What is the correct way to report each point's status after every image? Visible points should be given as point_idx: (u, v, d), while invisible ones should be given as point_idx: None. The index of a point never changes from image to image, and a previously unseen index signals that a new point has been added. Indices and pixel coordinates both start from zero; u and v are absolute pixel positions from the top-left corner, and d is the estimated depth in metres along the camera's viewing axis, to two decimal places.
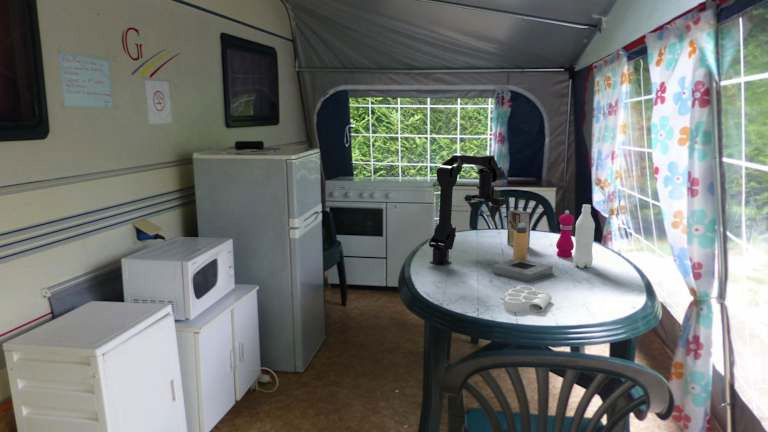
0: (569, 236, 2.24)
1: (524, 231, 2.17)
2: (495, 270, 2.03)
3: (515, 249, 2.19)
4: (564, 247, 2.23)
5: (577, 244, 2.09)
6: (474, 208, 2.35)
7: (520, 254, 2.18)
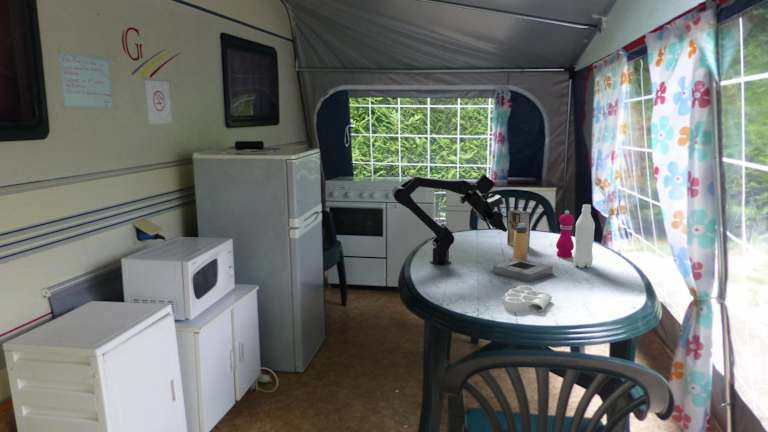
0: (569, 236, 2.24)
1: (524, 231, 2.17)
2: (495, 270, 2.03)
3: (515, 249, 2.19)
4: (564, 247, 2.23)
5: (577, 244, 2.09)
6: None
7: (520, 254, 2.18)
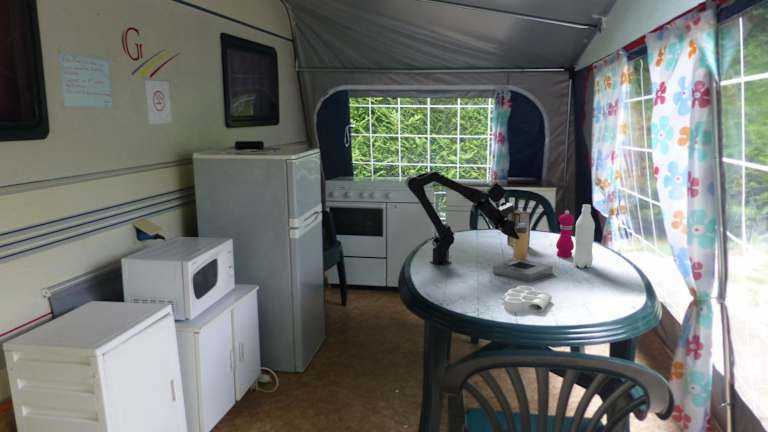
0: (569, 236, 2.24)
1: (524, 231, 2.17)
2: (495, 270, 2.03)
3: (515, 249, 2.19)
4: (564, 247, 2.23)
5: (577, 244, 2.09)
6: None
7: (520, 254, 2.18)
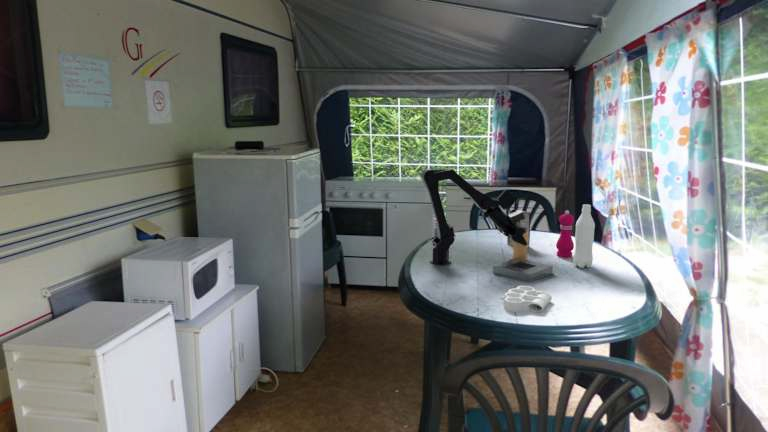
0: (569, 236, 2.24)
1: None
2: (495, 270, 2.03)
3: (515, 249, 2.19)
4: (564, 247, 2.23)
5: (577, 244, 2.09)
6: None
7: (520, 254, 2.18)
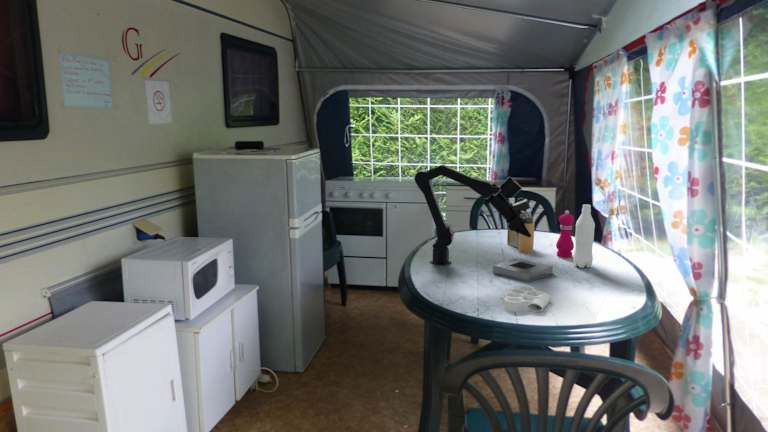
0: (569, 236, 2.24)
1: (529, 222, 2.05)
2: (495, 270, 2.03)
3: (519, 240, 2.08)
4: (564, 247, 2.23)
5: (577, 244, 2.09)
6: None
7: (524, 245, 2.06)
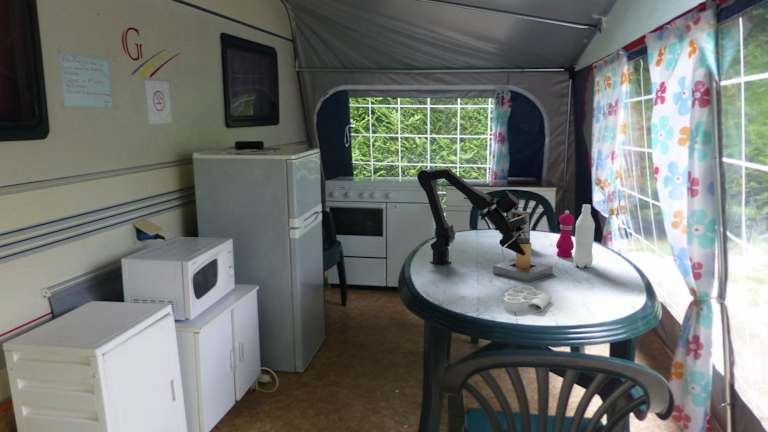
0: (569, 236, 2.24)
1: (524, 242, 1.99)
2: (495, 270, 2.03)
3: None
4: (564, 247, 2.23)
5: (577, 244, 2.09)
6: None
7: (519, 266, 2.01)
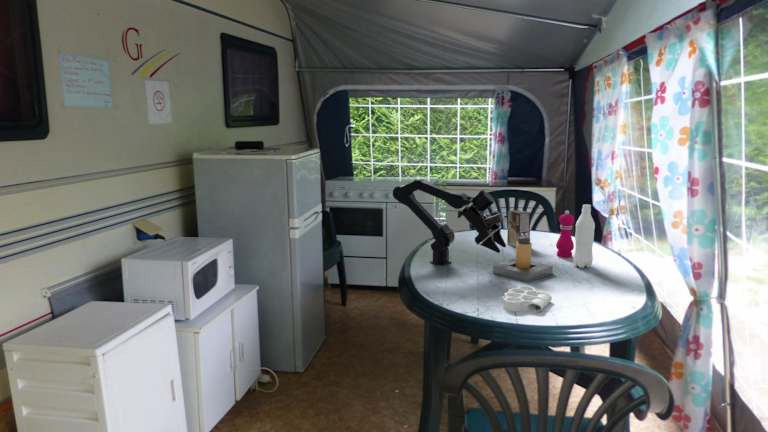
0: (569, 236, 2.24)
1: (524, 242, 1.99)
2: (495, 270, 2.03)
3: None
4: (564, 247, 2.23)
5: (577, 244, 2.09)
6: (496, 240, 2.10)
7: (519, 266, 2.01)
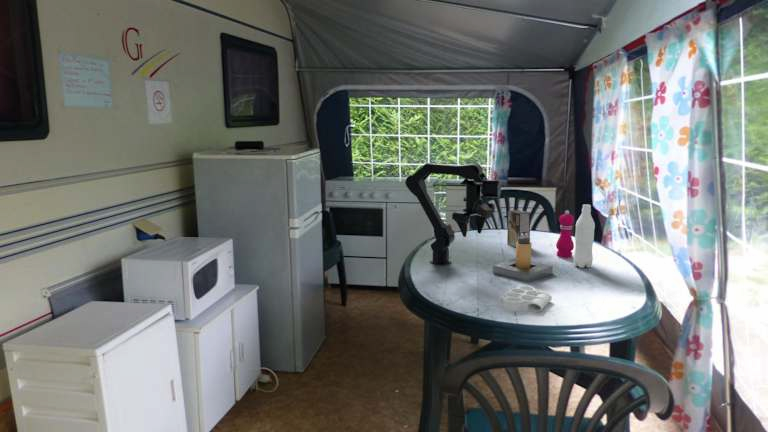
0: (569, 236, 2.24)
1: (524, 242, 1.99)
2: (495, 270, 2.03)
3: None
4: (564, 247, 2.23)
5: (577, 244, 2.09)
6: (477, 222, 2.13)
7: (519, 266, 2.01)
